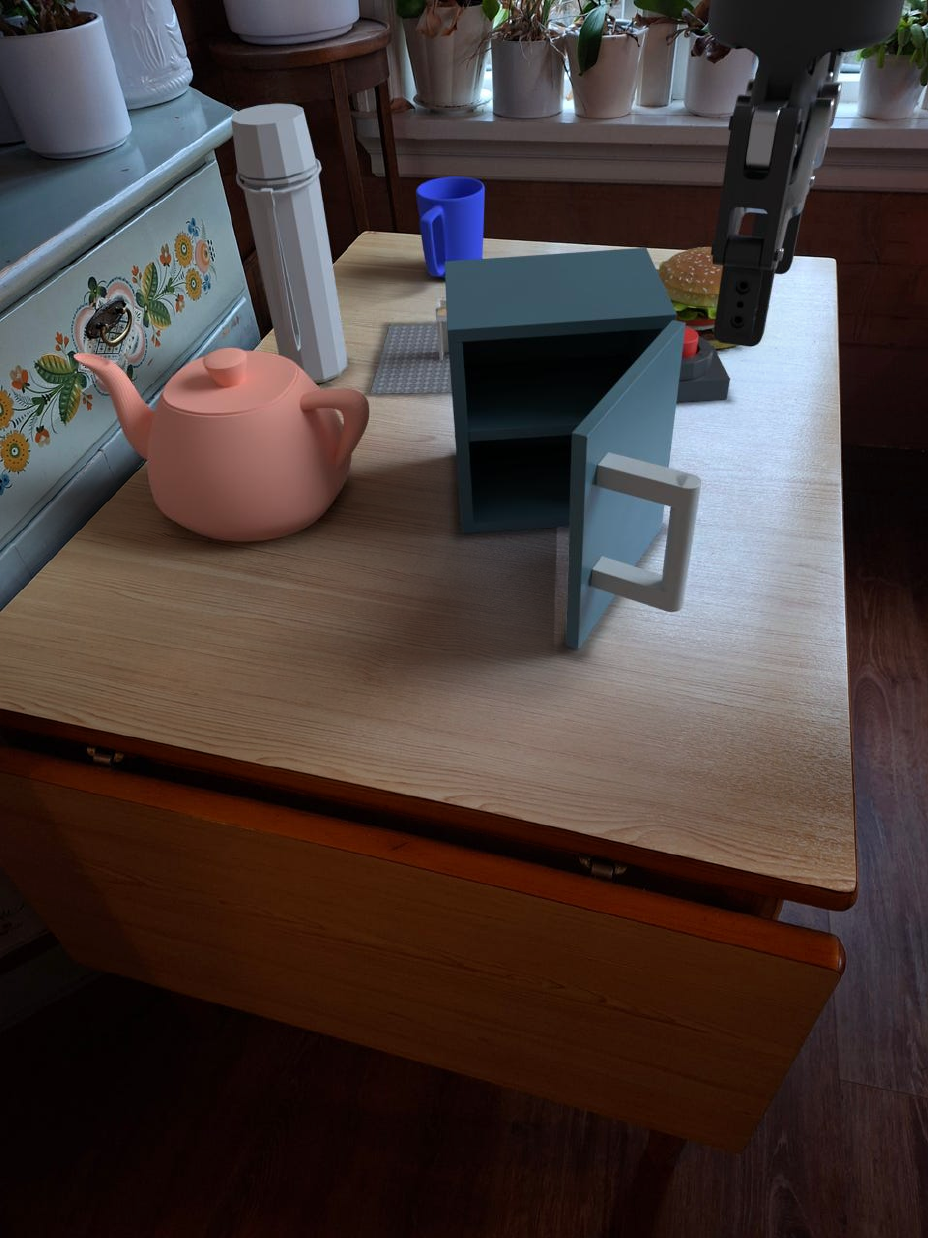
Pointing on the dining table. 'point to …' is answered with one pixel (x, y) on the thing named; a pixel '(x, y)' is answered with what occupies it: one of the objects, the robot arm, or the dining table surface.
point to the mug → (451, 221)
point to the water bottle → (291, 235)
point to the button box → (702, 375)
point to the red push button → (689, 343)
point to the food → (694, 290)
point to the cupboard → (539, 370)
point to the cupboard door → (629, 493)
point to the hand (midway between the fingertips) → (753, 303)
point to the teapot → (240, 442)
